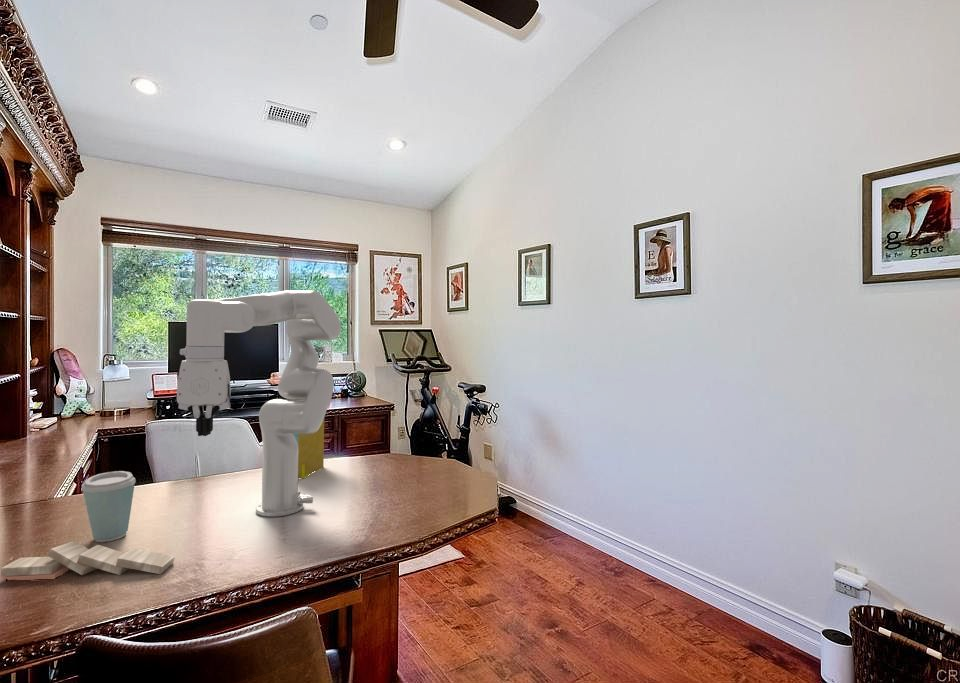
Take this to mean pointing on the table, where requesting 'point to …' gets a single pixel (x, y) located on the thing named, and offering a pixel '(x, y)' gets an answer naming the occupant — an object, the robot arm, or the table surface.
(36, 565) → the domino
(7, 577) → the domino
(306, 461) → the book
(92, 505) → the disposable coffee cup
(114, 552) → the domino
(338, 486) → the table surface
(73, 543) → the domino
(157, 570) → the domino
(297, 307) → the robot arm
